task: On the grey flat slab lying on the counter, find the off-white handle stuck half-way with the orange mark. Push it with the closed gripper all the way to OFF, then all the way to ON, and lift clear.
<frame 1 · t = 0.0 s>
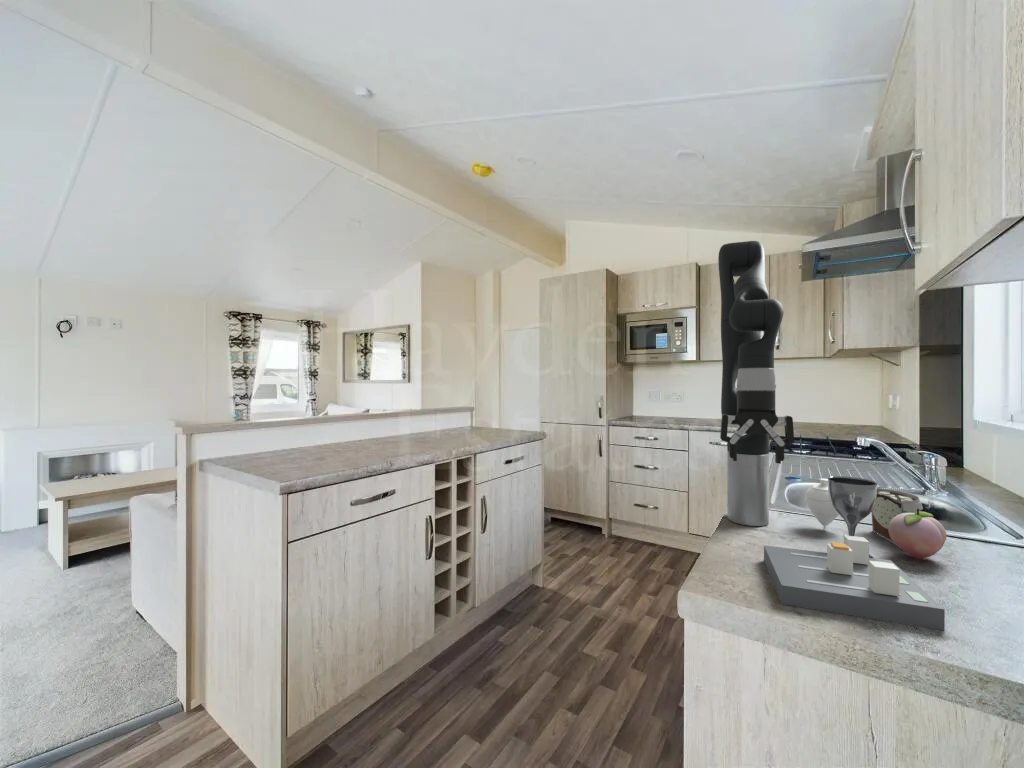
hand: (755, 461, 98), 17 cm above the countertop, tool pointing down, fingers open, 8 cm apart
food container: (901, 540, 98), on the countertop
decorative fruit: (915, 559, 88), on the countertop
tripped breaker: (839, 558, 75), point 5 cm above the countertop, slide at 4.0 cm
wine glass: (851, 555, 90), on the countertop
grey flat slab: (839, 589, 75), on the countertop
spinning top: (824, 530, 104), on the countertop
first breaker: (856, 549, 79), point 5 cm above the countertop, slide at 8.0 cm
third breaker: (883, 578, 68), point 5 cm above the countertop, slide at 8.0 cm
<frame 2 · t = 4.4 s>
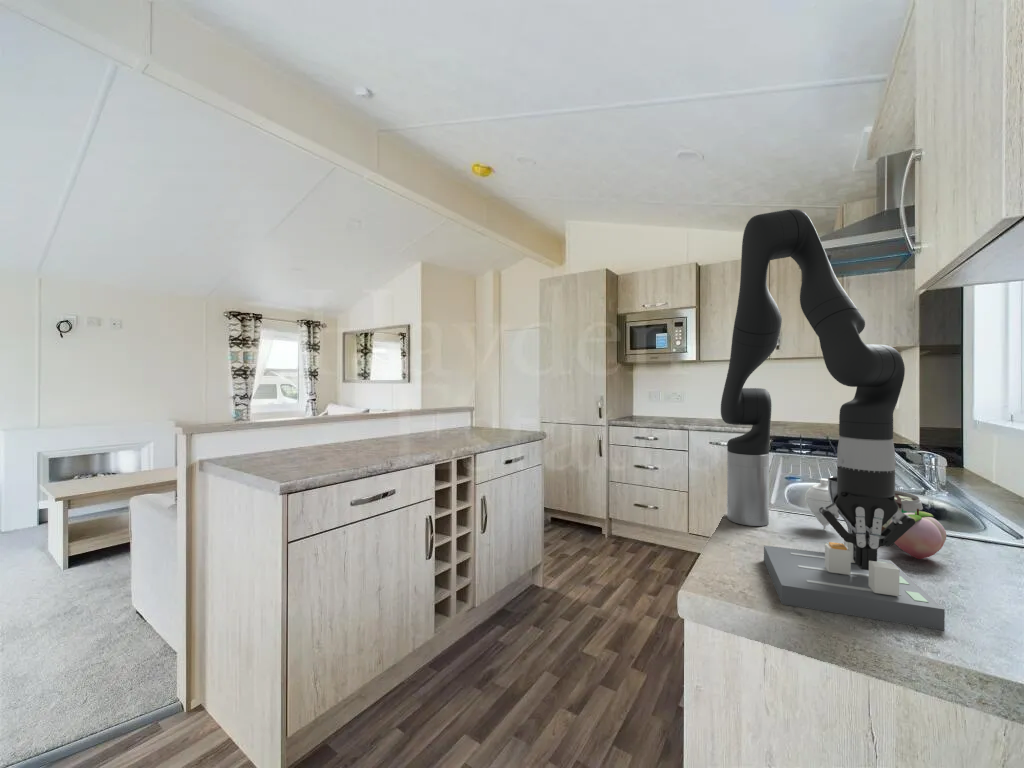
hand: (864, 568, 74), 4 cm above the countertop, tool pointing down, fingers closed
tripped breaker: (837, 557, 75), point 5 cm above the countertop, slide at 3.7 cm, touching gripper
everything else where it was.
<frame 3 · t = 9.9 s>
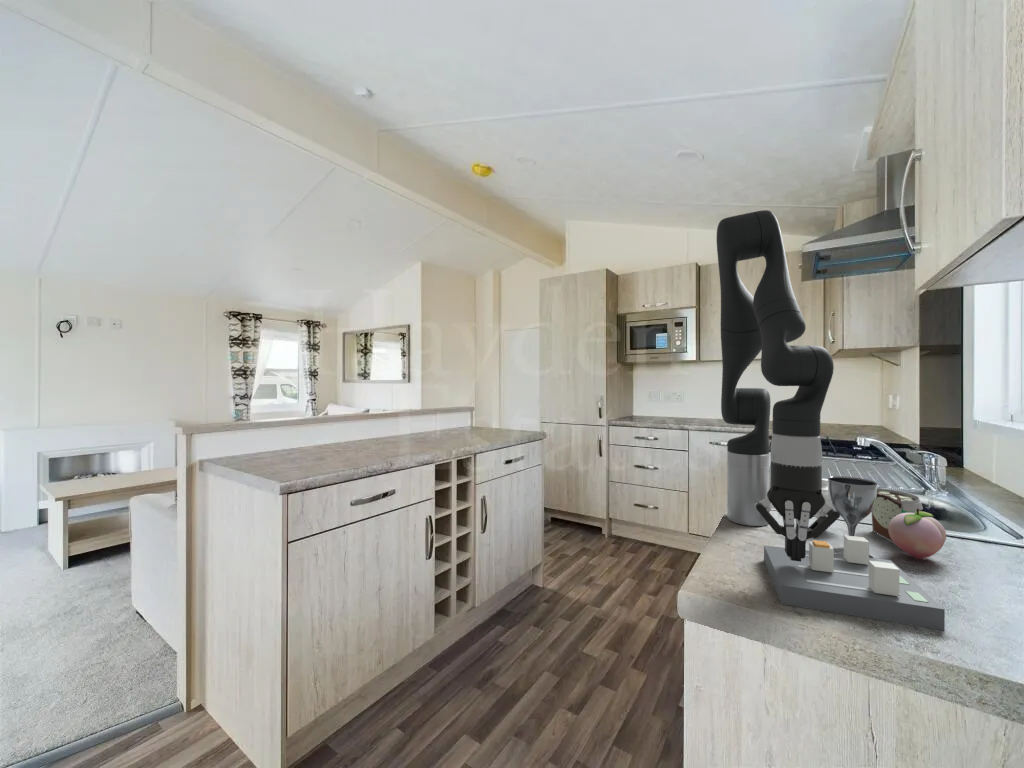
hand: (794, 559, 77), 4 cm above the countertop, tool pointing down, fingers closed
tripped breaker: (821, 555, 76), point 5 cm above the countertop, slide at 1.3 cm, touching gripper
everything else where it was.
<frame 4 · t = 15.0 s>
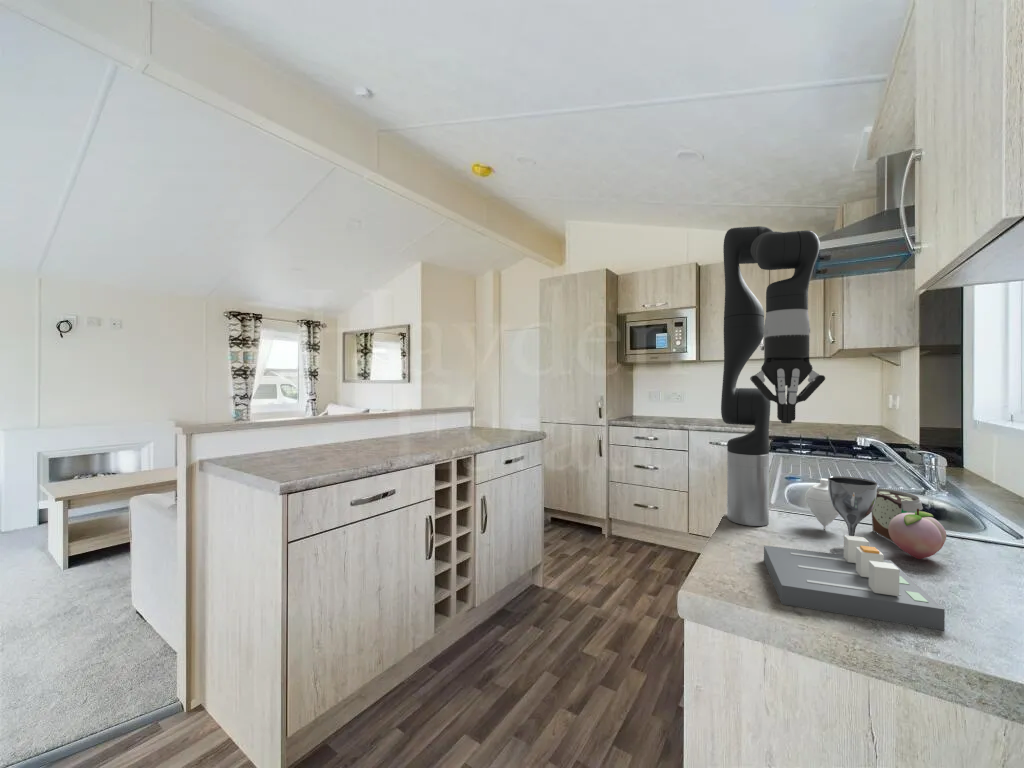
hand: (786, 423, 87), 27 cm above the countertop, tool pointing down, fingers closed
tripped breaker: (869, 561, 73), point 5 cm above the countertop, slide at 8.1 cm
everything else where it was.
at the end: tripped breaker slide at 8.1 cm; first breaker slide at 8.0 cm; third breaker slide at 8.0 cm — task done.
